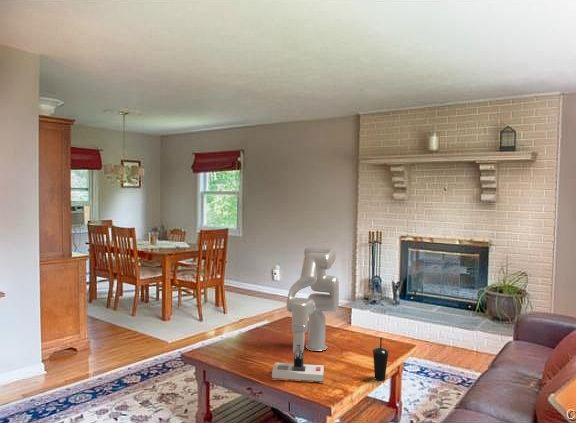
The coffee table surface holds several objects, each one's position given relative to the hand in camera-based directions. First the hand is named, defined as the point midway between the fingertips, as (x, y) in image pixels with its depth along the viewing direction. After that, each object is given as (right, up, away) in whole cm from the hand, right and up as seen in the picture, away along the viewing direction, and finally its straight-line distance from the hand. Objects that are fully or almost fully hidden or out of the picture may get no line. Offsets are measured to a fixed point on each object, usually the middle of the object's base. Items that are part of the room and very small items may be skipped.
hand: (298, 362), depth 218 cm
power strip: (0, -7, 0) cm, 7 cm away
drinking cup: (+39, -8, 0) cm, 40 cm away
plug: (0, -6, 0) cm, 6 cm away
